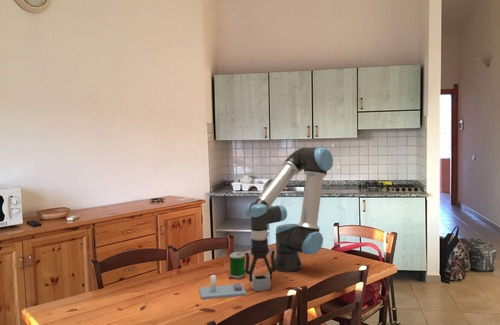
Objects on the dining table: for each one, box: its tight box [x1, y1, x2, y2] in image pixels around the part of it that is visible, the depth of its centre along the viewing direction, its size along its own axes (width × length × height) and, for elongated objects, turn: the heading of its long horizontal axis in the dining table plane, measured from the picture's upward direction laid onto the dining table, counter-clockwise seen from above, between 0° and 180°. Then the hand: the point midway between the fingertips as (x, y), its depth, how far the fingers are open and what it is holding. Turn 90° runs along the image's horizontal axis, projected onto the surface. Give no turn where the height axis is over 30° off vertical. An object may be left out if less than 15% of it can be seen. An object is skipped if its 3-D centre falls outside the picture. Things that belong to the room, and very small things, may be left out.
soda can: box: [229, 251, 246, 280], centre depth 213 cm, size 8×8×12 cm
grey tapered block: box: [253, 273, 271, 292], centre depth 196 cm, size 7×7×5 cm
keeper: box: [199, 274, 247, 300], centre depth 192 cm, size 20×12×8 cm, turn 100°
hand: (260, 287), depth 196 cm, fingers closed on grey tapered block, 7 cm apart
